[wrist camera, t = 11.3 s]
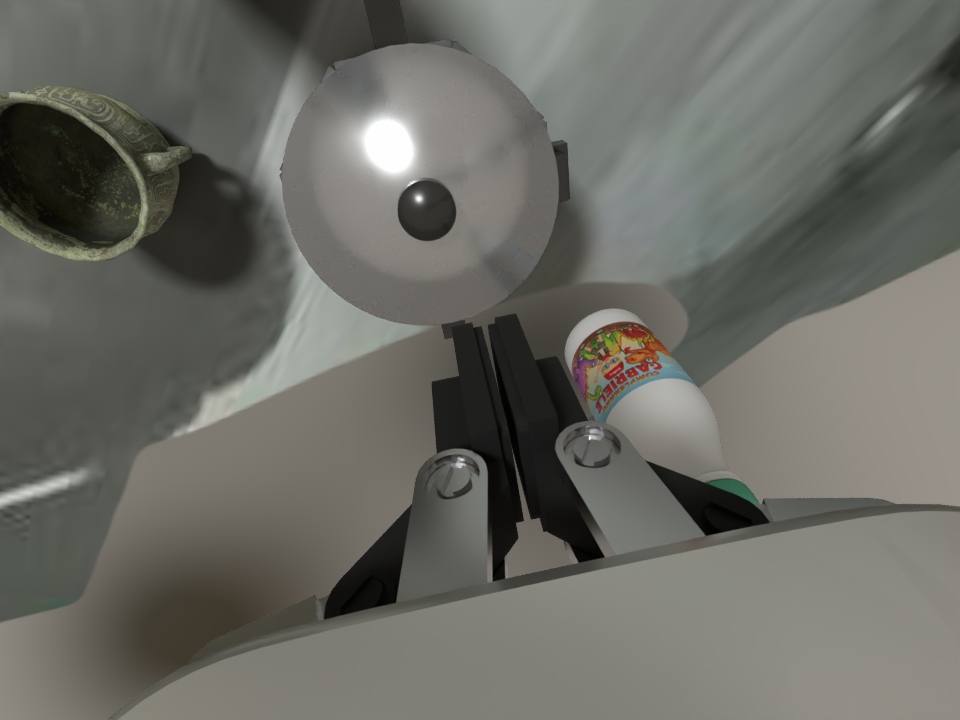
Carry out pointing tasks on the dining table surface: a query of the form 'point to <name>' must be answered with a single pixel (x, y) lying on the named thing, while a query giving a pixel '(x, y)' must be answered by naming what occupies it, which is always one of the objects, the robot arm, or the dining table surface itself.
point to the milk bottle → (648, 397)
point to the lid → (421, 184)
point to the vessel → (83, 172)
